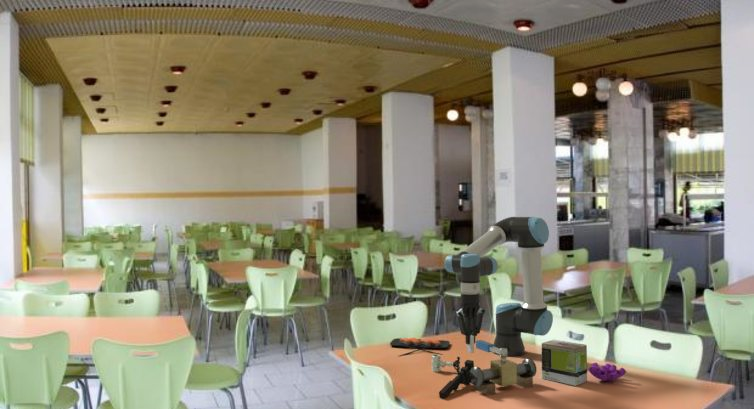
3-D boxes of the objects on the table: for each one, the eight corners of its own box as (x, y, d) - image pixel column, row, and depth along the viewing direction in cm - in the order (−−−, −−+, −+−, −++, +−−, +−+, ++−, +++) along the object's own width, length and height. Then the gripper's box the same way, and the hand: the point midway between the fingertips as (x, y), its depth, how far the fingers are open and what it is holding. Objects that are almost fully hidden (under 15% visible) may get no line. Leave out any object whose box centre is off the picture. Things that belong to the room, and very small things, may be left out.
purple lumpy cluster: (614, 384, 243) (629, 368, 240) (605, 394, 231) (621, 377, 228) (591, 364, 248) (606, 348, 245) (581, 373, 236) (597, 356, 233)
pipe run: (523, 380, 239) (523, 350, 239) (537, 385, 232) (537, 355, 232) (468, 389, 228) (468, 359, 227) (481, 395, 220) (481, 364, 220)
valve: (430, 373, 250) (458, 374, 248) (429, 357, 250) (458, 358, 248) (432, 368, 257) (460, 370, 254) (432, 353, 257) (460, 354, 254)
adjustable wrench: (440, 409, 220) (469, 379, 240) (446, 411, 218) (475, 380, 239) (437, 388, 218) (467, 359, 239) (444, 390, 217) (473, 360, 237)
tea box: (587, 381, 238) (587, 344, 237) (575, 387, 231) (575, 348, 230) (553, 373, 248) (553, 338, 248) (540, 378, 241) (540, 342, 241)
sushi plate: (450, 344, 301) (450, 336, 301) (443, 360, 272) (443, 351, 272) (394, 341, 308) (394, 334, 308) (381, 356, 279) (381, 348, 278)
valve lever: (509, 357, 229) (508, 349, 229) (502, 358, 228) (502, 350, 228) (481, 347, 245) (481, 339, 245) (475, 348, 243) (475, 340, 243)
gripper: (461, 295, 231) (462, 356, 231) (489, 293, 237) (489, 352, 237) (451, 292, 238) (451, 351, 238) (478, 290, 243) (478, 348, 244)
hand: (470, 352), depth 237 cm, fingers closed
